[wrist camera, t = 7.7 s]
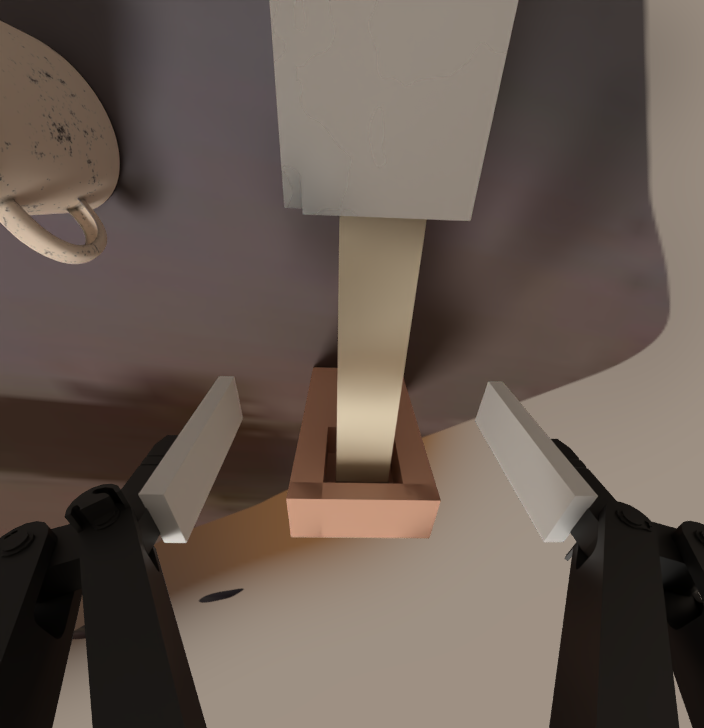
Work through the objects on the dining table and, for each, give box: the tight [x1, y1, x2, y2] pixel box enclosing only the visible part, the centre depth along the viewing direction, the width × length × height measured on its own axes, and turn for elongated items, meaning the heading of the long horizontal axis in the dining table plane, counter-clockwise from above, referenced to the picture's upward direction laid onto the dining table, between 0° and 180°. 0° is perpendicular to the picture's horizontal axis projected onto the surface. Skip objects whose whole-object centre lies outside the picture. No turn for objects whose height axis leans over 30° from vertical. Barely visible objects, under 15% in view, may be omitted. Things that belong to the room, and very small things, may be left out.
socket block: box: [286, 367, 441, 538], centre depth 21 cm, size 4×8×13 cm, turn 88°
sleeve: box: [269, 0, 518, 221], centre depth 12 cm, size 11×8×13 cm
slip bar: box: [335, 216, 427, 483], centre depth 14 cm, size 19×3×3 cm, turn 178°
